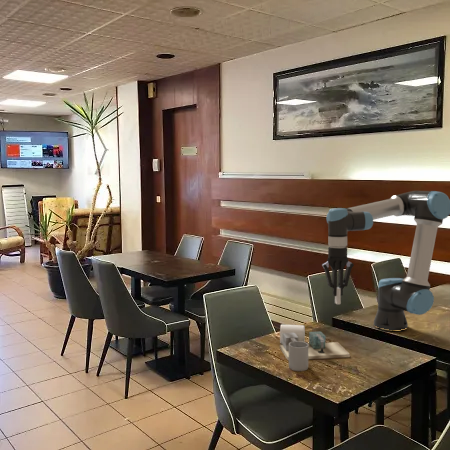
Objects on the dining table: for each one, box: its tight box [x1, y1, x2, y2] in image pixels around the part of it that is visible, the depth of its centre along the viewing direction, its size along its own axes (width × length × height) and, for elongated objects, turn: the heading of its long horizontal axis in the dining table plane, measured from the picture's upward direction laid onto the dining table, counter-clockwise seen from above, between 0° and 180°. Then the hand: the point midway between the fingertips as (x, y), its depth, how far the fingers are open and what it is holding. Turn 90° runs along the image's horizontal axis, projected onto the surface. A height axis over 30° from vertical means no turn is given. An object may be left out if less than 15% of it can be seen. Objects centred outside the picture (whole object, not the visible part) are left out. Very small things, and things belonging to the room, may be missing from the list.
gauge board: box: [279, 333, 351, 361], centre depth 197 cm, size 25×14×6 cm, turn 96°
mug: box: [279, 324, 306, 345], centre depth 209 cm, size 12×10×8 cm
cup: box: [288, 341, 309, 372], centre depth 182 cm, size 7×10×9 cm
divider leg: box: [308, 331, 326, 351], centre depth 198 cm, size 5×10×5 cm, turn 6°
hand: (337, 303), depth 199 cm, fingers closed
